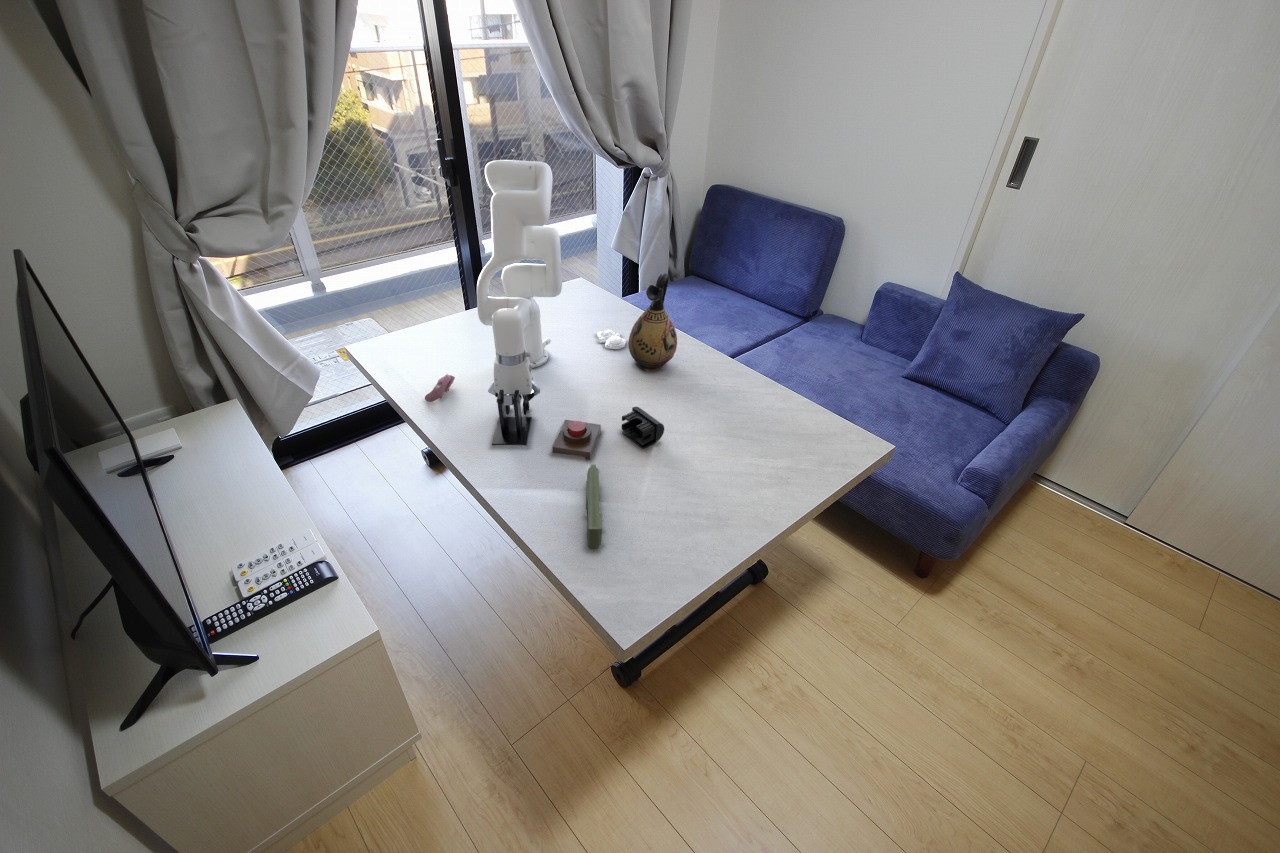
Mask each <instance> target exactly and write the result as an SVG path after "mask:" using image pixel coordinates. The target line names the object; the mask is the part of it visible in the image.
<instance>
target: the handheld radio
mask: <svg viewBox="0 0 1280 853" xmlns="http://www.w3.org/2000/svg"><path fill="white" fill-rule="evenodd" d="M599 470H600V469H599V468H598V467H597V464H594V463H593V464H592V463H591V464H590V466H589V467H588V470H587V474H586V483H585V510H586V539H587V540H586V541H587V542H586V543H587V544H586V545H587V546H586V547H587V549H588V550H589V551H591V550H598V549H599V547H600V546H601V544H602V533H603V532H602V531H603V530H602V529H603V524H602V523H603V522H602V520H603V519H602V513H601V511H600V476H599V473H600V471H599Z"/></svg>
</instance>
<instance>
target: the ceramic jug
mask: <svg viewBox="0 0 1280 853" xmlns="http://www.w3.org/2000/svg"><path fill="white" fill-rule="evenodd" d="M669 280H670V275H669V274H668V273H664V272H663V273H661V274H659V276H658V277H657V280H656V282H655V285H654V284H649V286H648V287H647V289H646V291H645V292H646V297H647V298H648V300H649V301H651V302H650V305H649V306H648V307H647V308H646V309H645V310H644V311H643V312H642V313H641V315H640V316H639V317H638V318H637V319H636V321H635V322H634V323H633V326H632V328H631V331H630V333H629V336H628V342H627V343H628V344H627V346H628V350H629V354H630V356H631V357H632V359H633V360H634V362H635V363H634V364H635V366H636V367H637V368H638V369H639V370H641V371H643V372H652V373H655V372H658V371H660V370H662V369H663V368H664V366H665V365H666V364H668V362H670V361H671V360H672V359H673V358H674V356H675V353H676V351H677V348H678V335H677V331H676V328H675V325H674V323H673V321H672V319H671V317H670V316H669V313H668V312H667V310H666V309H665V304H664V303H665V298H666V294H667V290H668V285H669Z"/></svg>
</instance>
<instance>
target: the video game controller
mask: <svg viewBox="0 0 1280 853" xmlns="http://www.w3.org/2000/svg"><path fill="white" fill-rule="evenodd" d="M455 379H456V377H455V376H453V375H451V374H448V373H446V374H445V375H443V377H440V378H439V379H438V380H437V382H436V384H435V386H434V387H433V388H432V390H431V391H430V392H429V393H427V394H426V395H425V396H424V400H425V401H426V402H427V403H433V402H436V401H437V400H438V399H439V400H442V398H443V397H444V396H445V395H446V393H448V392H449V391H450V388H451V386H452V384H454V381H455Z"/></svg>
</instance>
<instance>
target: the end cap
mask: <svg viewBox="0 0 1280 853" xmlns="http://www.w3.org/2000/svg"><path fill="white" fill-rule="evenodd" d="M621 421H622V422H624V423H621V432H622V433H621V434H622V435H623V436H625V437H626V438H627V439H629V440H630V441H631V442H633V443H634V444H635V445H636V446H637V447H639V448H640V449H641V450H645V449H647V448H649V447H651V446H654V444H656V443H657V442H658V441H659V440H660V439H661V438H662V437H663V435H664V433H665V425H664V424H663V423H662V422H660V421H659V420H657V419H656V418H654V417H653V416H652V415H651V414H649V413H648V412H646V411H645V410H644V409H642V408H641V407H639V406H633V407H632V408H631V411H630V412H628V413H626V414H624V415H621ZM625 421H626V422H625Z"/></svg>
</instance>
